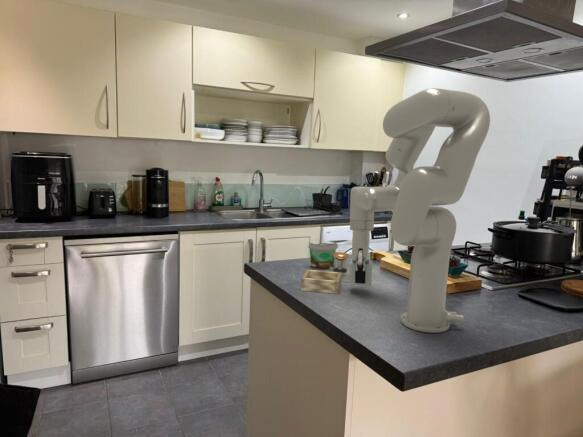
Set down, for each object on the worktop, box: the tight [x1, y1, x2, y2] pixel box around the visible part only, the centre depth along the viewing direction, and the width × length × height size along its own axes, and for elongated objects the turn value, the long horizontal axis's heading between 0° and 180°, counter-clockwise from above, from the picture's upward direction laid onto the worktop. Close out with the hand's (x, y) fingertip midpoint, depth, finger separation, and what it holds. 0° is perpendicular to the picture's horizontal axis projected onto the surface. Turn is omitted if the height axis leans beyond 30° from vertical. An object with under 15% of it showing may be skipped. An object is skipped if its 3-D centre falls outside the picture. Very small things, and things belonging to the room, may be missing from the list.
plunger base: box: [327, 266, 349, 283], centre depth 150 cm, size 8×8×3 cm
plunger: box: [333, 251, 350, 273], centre depth 149 cm, size 6×6×6 cm
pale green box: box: [348, 258, 373, 287], centre depth 134 cm, size 5×7×8 cm
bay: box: [300, 269, 342, 295], centre depth 139 cm, size 12×11×4 cm
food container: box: [307, 241, 339, 271], centre depth 163 cm, size 12×6×10 cm, turn 111°
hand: (360, 280), depth 135 cm, fingers closed on pale green box, 5 cm apart
